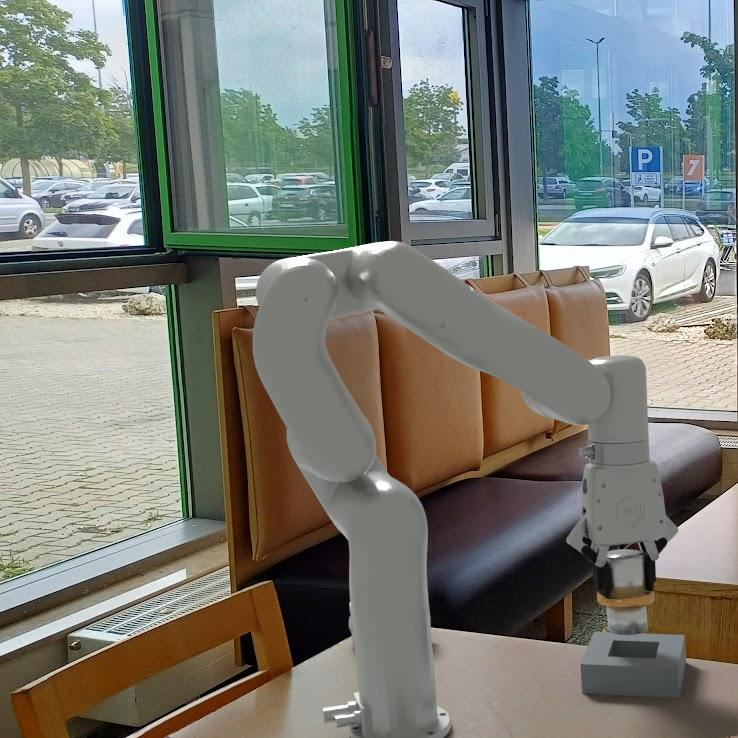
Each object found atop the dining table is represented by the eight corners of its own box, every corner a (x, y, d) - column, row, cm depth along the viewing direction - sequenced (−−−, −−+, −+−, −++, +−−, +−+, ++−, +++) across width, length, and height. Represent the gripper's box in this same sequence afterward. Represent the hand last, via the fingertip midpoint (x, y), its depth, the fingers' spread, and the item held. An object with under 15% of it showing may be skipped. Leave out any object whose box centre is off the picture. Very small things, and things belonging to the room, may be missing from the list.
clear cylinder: (613, 641, 144) (608, 565, 143) (590, 624, 151) (586, 551, 150) (666, 632, 145) (661, 557, 144) (641, 616, 152) (637, 544, 151)
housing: (680, 707, 142) (677, 668, 141) (582, 702, 146) (580, 664, 145) (686, 671, 153) (684, 634, 152) (596, 667, 157) (593, 631, 156)
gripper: (565, 464, 141) (572, 607, 143) (695, 451, 144) (700, 591, 146) (545, 454, 148) (552, 591, 150) (668, 442, 151) (673, 576, 153)
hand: (624, 590), depth 148 cm, fingers closed on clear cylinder, 5 cm apart
